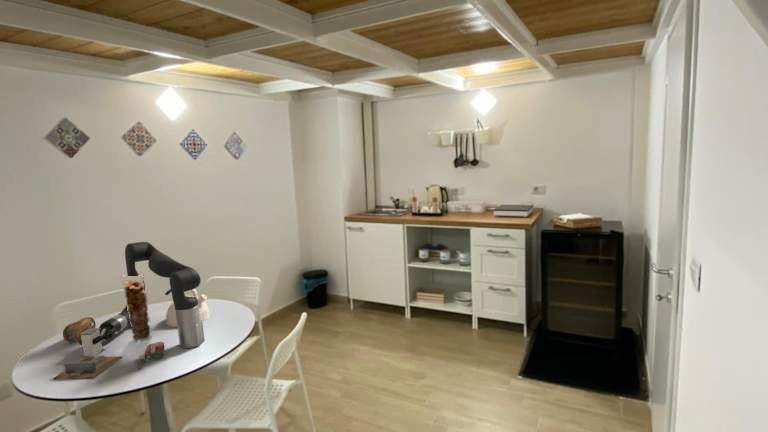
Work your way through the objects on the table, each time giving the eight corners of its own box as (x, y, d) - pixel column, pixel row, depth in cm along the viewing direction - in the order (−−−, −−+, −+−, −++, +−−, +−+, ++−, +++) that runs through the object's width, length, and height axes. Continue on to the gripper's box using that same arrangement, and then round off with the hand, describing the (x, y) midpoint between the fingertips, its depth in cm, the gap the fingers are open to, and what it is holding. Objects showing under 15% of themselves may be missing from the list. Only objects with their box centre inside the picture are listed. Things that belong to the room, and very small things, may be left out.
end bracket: (96, 370, 164) (94, 361, 164) (93, 372, 163) (91, 363, 162) (69, 371, 165) (67, 361, 164) (66, 373, 163) (64, 363, 163)
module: (102, 350, 184) (98, 328, 182) (94, 355, 179) (90, 333, 177) (92, 350, 184) (89, 328, 182) (84, 355, 179) (80, 333, 177)
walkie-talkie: (142, 351, 182) (136, 372, 163) (141, 341, 181) (134, 361, 163) (165, 346, 185) (162, 366, 167) (164, 337, 184) (160, 356, 166)
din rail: (105, 357, 175) (105, 356, 175) (80, 375, 161) (79, 373, 161) (97, 358, 175) (97, 356, 175) (71, 376, 161) (71, 374, 161)
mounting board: (122, 357, 176) (121, 356, 175) (94, 378, 160) (94, 376, 160) (84, 358, 176) (84, 357, 176) (53, 379, 160) (53, 377, 160)
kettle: (200, 326, 204) (195, 290, 202) (157, 328, 205) (152, 292, 202) (216, 310, 224) (213, 277, 222) (178, 312, 225) (174, 279, 222)
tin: (68, 345, 190) (65, 327, 189) (63, 345, 191) (59, 327, 190) (97, 331, 205) (94, 314, 203) (91, 330, 205) (89, 314, 204)
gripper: (97, 318, 194) (68, 334, 177) (127, 317, 193) (101, 333, 177) (99, 334, 195) (71, 351, 179) (130, 333, 195) (104, 350, 178)
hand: (86, 342), depth 178 cm, fingers open, 5 cm apart
